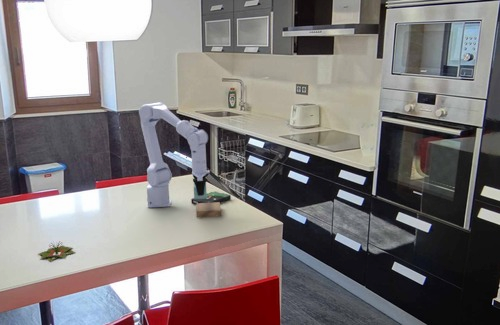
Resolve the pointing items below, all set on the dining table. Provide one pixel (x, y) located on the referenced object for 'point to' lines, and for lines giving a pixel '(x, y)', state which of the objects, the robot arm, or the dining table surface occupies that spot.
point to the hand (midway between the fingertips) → (200, 193)
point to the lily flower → (51, 251)
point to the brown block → (208, 209)
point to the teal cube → (197, 193)
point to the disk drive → (213, 198)
